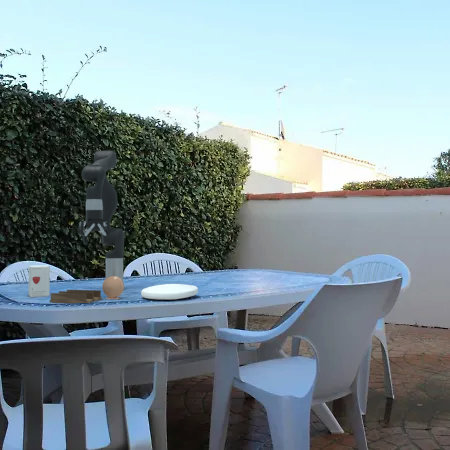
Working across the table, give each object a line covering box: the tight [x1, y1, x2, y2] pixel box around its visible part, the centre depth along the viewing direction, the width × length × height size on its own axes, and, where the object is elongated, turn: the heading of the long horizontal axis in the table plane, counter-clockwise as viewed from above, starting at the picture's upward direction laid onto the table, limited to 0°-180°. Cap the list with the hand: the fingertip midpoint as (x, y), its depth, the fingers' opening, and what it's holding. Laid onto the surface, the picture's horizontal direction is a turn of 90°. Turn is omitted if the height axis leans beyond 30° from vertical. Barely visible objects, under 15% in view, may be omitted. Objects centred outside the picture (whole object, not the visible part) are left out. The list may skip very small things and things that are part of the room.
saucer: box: [101, 276, 125, 300], centre depth 228 cm, size 3×10×11 cm, turn 77°
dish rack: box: [49, 289, 103, 304], centre depth 220 cm, size 14×18×4 cm
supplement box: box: [27, 264, 51, 298], centre depth 239 cm, size 9×9×15 cm
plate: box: [140, 283, 199, 301], centre depth 231 cm, size 28×6×27 cm
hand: (94, 244), depth 224 cm, fingers open, 8 cm apart
